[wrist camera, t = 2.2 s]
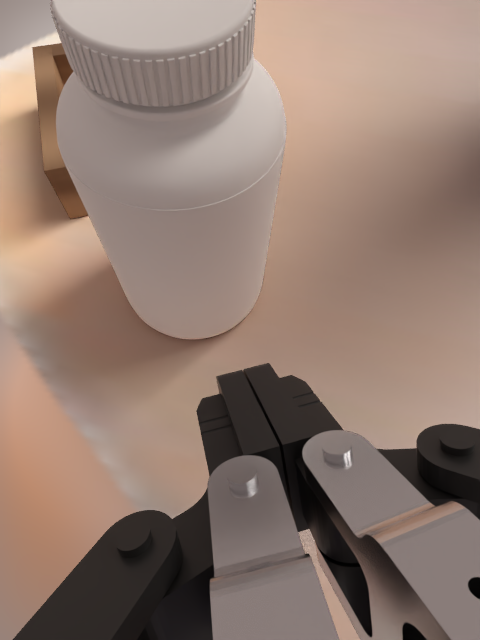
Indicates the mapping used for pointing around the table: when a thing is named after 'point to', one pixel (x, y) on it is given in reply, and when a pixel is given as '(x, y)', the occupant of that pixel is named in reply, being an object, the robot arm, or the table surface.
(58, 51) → the holder
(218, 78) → the pill bottle
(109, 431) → the table surface
